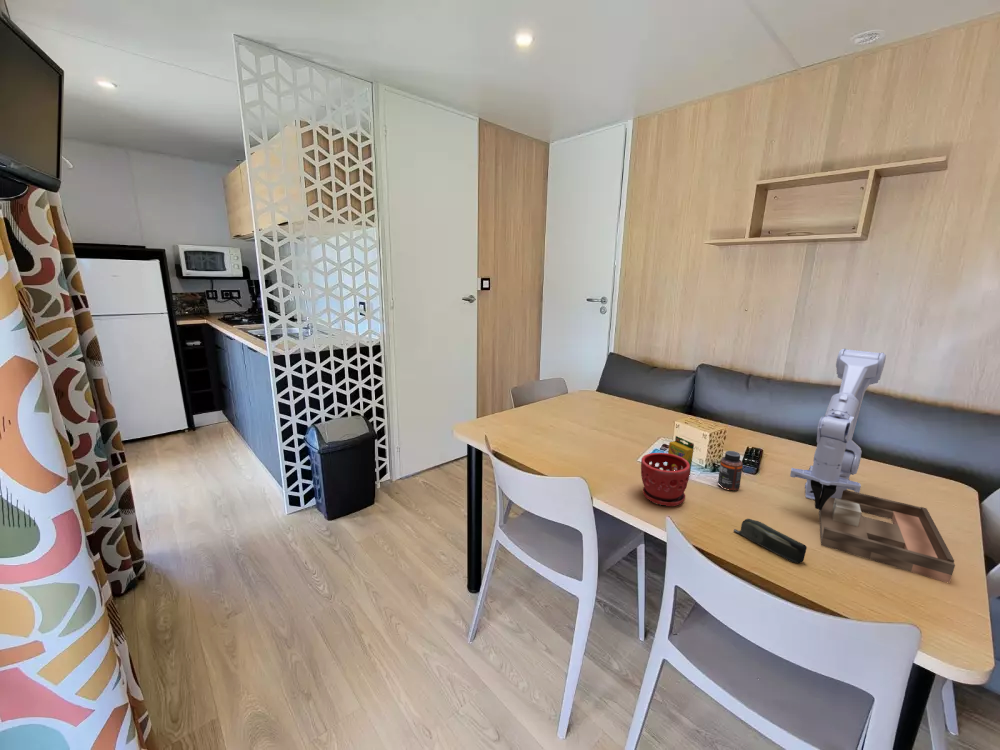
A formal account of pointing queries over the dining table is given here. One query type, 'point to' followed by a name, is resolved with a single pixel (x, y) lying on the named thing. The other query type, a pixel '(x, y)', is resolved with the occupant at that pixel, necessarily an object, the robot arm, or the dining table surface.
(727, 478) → the supplement bottle
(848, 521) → the block
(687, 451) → the crayon box
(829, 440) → the robot arm
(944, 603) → the dining table surface
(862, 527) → the frame
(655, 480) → the plant pot
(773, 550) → the mobile phone
